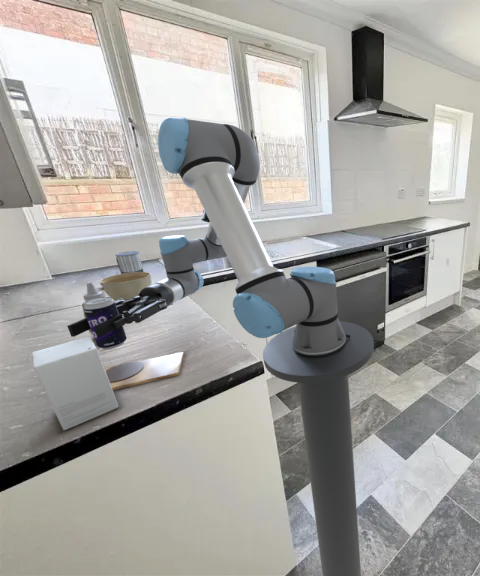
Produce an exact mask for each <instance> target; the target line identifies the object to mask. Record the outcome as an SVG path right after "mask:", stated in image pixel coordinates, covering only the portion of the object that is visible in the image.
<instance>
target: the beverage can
mask: <svg viewBox="0 0 480 576" xmlns="http://www.w3.org/2000/svg"><path fill="white" fill-rule="evenodd" d="M83 303H84V308H83V307H82V311H83V310H84V312H85V315H86V318H87V320H88V323H89V326H90V328H91V331H92V333H91V335H92V336H93V339H94V341H95V344H96V345H95V346H96V348H99V349H102V350H112V349H115V348H118V347H120V346H122V345H123V344H125V342H126V340H127V334H126V332H125V328H124V325H123V326H121V327H119V328H117V329H116V330H114V331H112V332H110V333H108V334H106V335H104V336H102V337H97V335H96V332H95V330H94V327H93V326H96V325H98V324H100V323H102V322H104V321H106V320H108V319H110V318H113V317H115V316H117V315H119V313H118V310H117V307H116V304H115V300H113V299H112V298H111V297H109V296H104V297H99V298H94V299H91V300H88V301H86V302H85V301H83ZM84 312H83V313H84Z"/></svg>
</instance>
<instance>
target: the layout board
mask: <svg viewBox="0 0 480 576" xmlns="http://www.w3.org/2000/svg"><path fill="white" fill-rule="evenodd" d="M184 355H185V353H184V351H180V352H175V353H171V354H165V355H161V356H156V357H151V358H146V359H142V360H141V359H140V360H135V361H128V362H124V363H120V364H118V365H113V366H108V367H104V369H105V371H106V374H107V376H108V379H109V382H110V384H111V387H112V390H113V391H117V390H121V389H125V388H130V387H133V386H139V385H142V384H148V383H151V382H156V381H160V380H164V379H169V378H172V377H176V376H179V375H180V372H181V367H182V365H183V364H182V363H183V360H184Z"/></svg>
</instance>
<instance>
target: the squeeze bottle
mask: <svg viewBox="0 0 480 576" xmlns="http://www.w3.org/2000/svg"><path fill="white" fill-rule="evenodd" d="M99 297H105V293H104V292H103V291H101V290H100V291H99V290H98V289H97V288H96V286H95V284H94V283H93V282H92V281H89V282H86V293H85V294H84V295H83V297H82V298H83V299H84V302H86V301H88V300H91V299H94V298H99ZM84 302H82V303H81V306H82V311H83V316H84V318H86V315H85V312H84V310H83V308H84ZM88 332H89V333H90V334H92V331H91V329H89V330H88Z"/></svg>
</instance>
